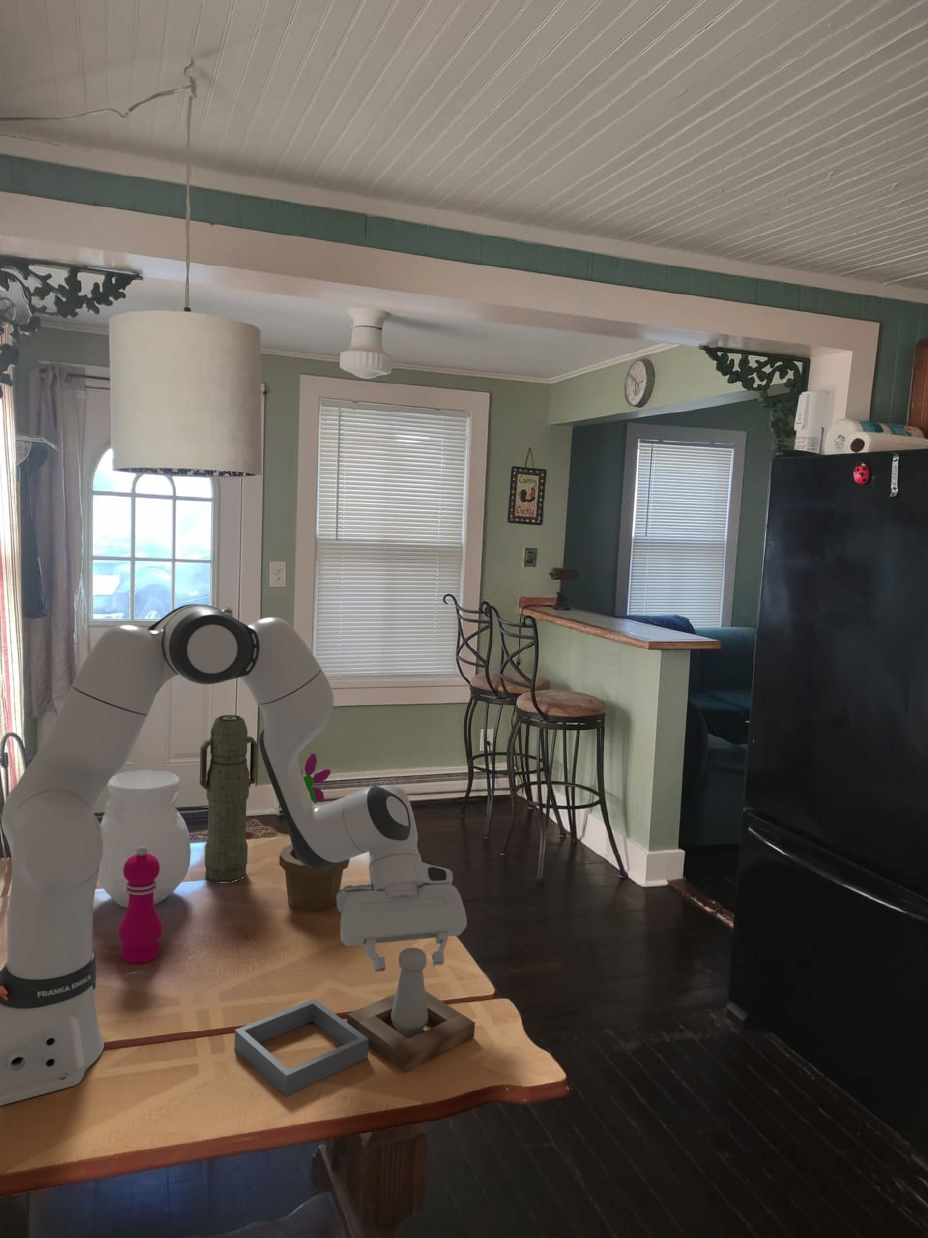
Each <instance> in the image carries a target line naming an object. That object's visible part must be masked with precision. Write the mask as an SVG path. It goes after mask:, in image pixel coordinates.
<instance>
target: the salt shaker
mask: <svg viewBox="0 0 928 1238" xmlns="http://www.w3.org/2000/svg"><path fill="white" fill-rule="evenodd" d="M398 965H399V968H400V969H401V971H400V974H399V979H398V983H397V988H396V992H395V994H396V996H395V1000H394V1004H393V1008H392V1013H391V1020H392V1023H391V1024H392V1026H393V1027H394V1030H396V1031H397V1032H398V1033H400V1034H401V1035H403V1036H404V1037H405V1038H407V1039H409V1038H411V1037H413V1036H415V1035H418V1034H420V1033H422V1032H423V1030H424V1029H425V1026H427V1024H428V1023H427V1022H428V1011H427V1003H426V995H425V991H426V988H425V980H424V971H423V970H424V969H425V968H426V966H427V954H426V952H425V951H424V950H423V949H420V948H418V947H408V948H407V947H406V948H405V949H403V950H402V951H401V952H400V953H399V956H398Z"/></svg>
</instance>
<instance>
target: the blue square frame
mask: <svg viewBox="0 0 928 1238" xmlns="http://www.w3.org/2000/svg"><path fill="white" fill-rule="evenodd" d="M310 1023H313V1024H315V1025H316V1026H317V1027H319V1029H321V1030H323V1031H324V1032H325V1033H326V1034H328V1035H329V1036H331V1038H333V1039H334V1040H335V1041H336V1042H338V1043H339V1044H341V1046H338V1047H336V1048H334V1049H332V1050H329V1051H327V1052H325V1053H322V1054H320V1055H318V1056H316V1057H314V1058H311V1059H309V1060H306V1061H305V1062H301V1063H300V1064H298V1065H296V1066H294V1067H293V1066H292V1067H291V1068H288V1067H286V1066H285V1065H284V1064H283V1063H282V1062H281V1061H280V1060H279V1059H278V1058H276V1057H275V1056H274V1055H273V1054H272V1053H271V1052H270V1051H269V1050H267V1049H266V1048H265V1047H264V1046H263V1045H262V1044H261V1043H263V1042H266V1041H268V1040H272V1039H273V1038H275V1037H278V1036H280V1035H283V1034H285V1033H288V1032H291V1031H293V1030H295V1029H297V1028H299V1027H303V1026H305V1025H307V1024H310ZM368 1041H369V1039H368V1038H367V1037H365V1036H364V1035H363V1034H361V1033H360V1032H359V1031H357V1030H356V1029H355V1028H353V1027H352V1026H351V1025H349V1024H348V1023H347V1021H346V1020H344V1019H343V1018H341V1017H340V1016H338V1015H337V1014H336V1013H335V1012H333V1011H332V1010H331V1009H329V1008H328V1007H327V1006H325V1005H324V1004H323V1003H321V1002H320V1001H318V1000H317V999H316V998H313V999H310V1000H308V1001H306V1002H303V1003H300V1004H297V1005H295V1006H291V1007H289V1008H287V1009H285V1010H282V1011H279V1012H277V1013H274V1014H271V1015H269V1016H266V1017H263V1018H262V1019H259V1020H257V1021H253V1022H251V1023H249V1024H246V1025H243V1026H241V1027H239V1028H236V1029H234V1045H233V1046H234V1047H233V1048H234V1050H235V1052H237V1053H238V1054H239V1055H240V1056H241V1057H243V1058H244V1060H246V1061H247V1062H248V1063H249V1064H250V1065H251V1066H252V1067H253V1068H255V1070H257V1071H258V1072H259V1073H260V1074H261V1075H262V1076H263V1077H264V1078H265V1079H266V1080H267V1081H268V1082H270V1084H271V1085H273V1086H274V1087H275V1088H276V1089H277V1090H278V1091H279V1092H280V1093H281V1094H282V1095H283V1096H285V1097H288V1096H290V1095H291V1094H294V1093H296V1092H298V1091H300V1090H302V1089H304V1088H306V1087H308V1086H310V1085H313V1084H315V1083H317V1082H319V1081H321V1080H324V1079H326V1078H328V1077H330V1076H332V1075H335V1074H336V1073H339V1072H340V1071H343V1070H346V1069H347V1068H349V1067H351V1066H354V1065H356V1064H358V1063H360V1062H362V1061H365V1060H366V1059H368V1058H369V1045H368Z"/></svg>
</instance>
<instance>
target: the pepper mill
mask: <svg viewBox="0 0 928 1238" xmlns="http://www.w3.org/2000/svg"><path fill="white" fill-rule="evenodd" d="M136 852H137V854H136V855H133V856H131V857H130V858H129V859H128V860H127V861H126V863H125V865H124V869H123V874H124V877H125V878H126V879H127V880H128V882H127V883H126V886H127V888H126V891H127V892H128V893H129V905H128V908H126V911H125V914H124V916H123V918H122V920H121V922H120V926H119V931H118V939H119V941H120V942H121V943H122V944H123V945H122V946H121V956H120V957H121V959H122V961H124V962H125V963H128V964H131V965H133V964H135V965H137V964H138V965H139V964H144V963H149V962H151V961H153V960H155V959H156V958H158V956H159V954H160V944H159V942H158V941H159V940H160V938H161V937H162V935H163V924H162V920H161V917H160V916H159V914H158V911H157V909H156V908H155V905H154V900H153V895H154V891H155V890H156V883H157V881H156V880H155V878H156V877H157V876H158V874H159V871H160V865H159V862H158V860H157V858H156V857H154V856H153V855H151V854H147V848H146V847H145V846H140V847H138V849H137V851H136Z"/></svg>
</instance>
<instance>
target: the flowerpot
mask: <svg viewBox="0 0 928 1238" xmlns="http://www.w3.org/2000/svg"><path fill="white" fill-rule="evenodd" d="M317 763H318V761H317V755H316V753H311V754H310V755H309V756H308V757H307V759H306V762H305V765H304V773H305V775H303V774H304V773H303V771H302V769H300V771H301V773H302V776H303V779H304V781H305V784H306V787H307V789H308V792H309V795H310V797H311V800H312V802H313V803H315V804H317V805H318V803H317V802H319V803H323V801H324V800H325V795H324V792H323V791H322V790H321V789H320V788H319V787H317V786H314V784H315V783H316V784H320V783H322V782H323V781H326V780H327V779H328V778H329V776H330V775H331V774H332V772H331V769H329V768H321V769H320V770H318V771H316V766H317V765H318V764H317ZM315 771H316V772H315ZM312 774H313V776H312ZM285 825H286V827H287V828H288V826H287V823H286V824H285ZM278 859H279V860H278V861H279V863H278V865H279V866H280V867H281V868H282V869H283V870H284V873H285V884H286V895H287V903H288V902H289V903H288V904H289V905H290V907H292V908H293V909H296V910H300V911H302V912H320V911H322V912H323V911H326V910H330V909H331V908H334V907H335V906H337V901H336V896H337V893H338V892H339V891H340V890H341V886H342V881H343V880H342V879H343V874H344V870H345V869H347V868H349V865H350V861H351V858H350V859H347V860H344V861H343V862H341V863H339V864H337V865H335V866H333V867H331V868H329V869H327V870H325V871H318V870H315V869H312V868H310V867H308V866H306V865H305V864H303V863H302V862H301V861H299V860H298V858H297V857H296V855H295V852H294V850H293V847H292V843H291V844H289V845H287V846H284V847H282V848H281V851H280V853H279V857H278Z"/></svg>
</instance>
